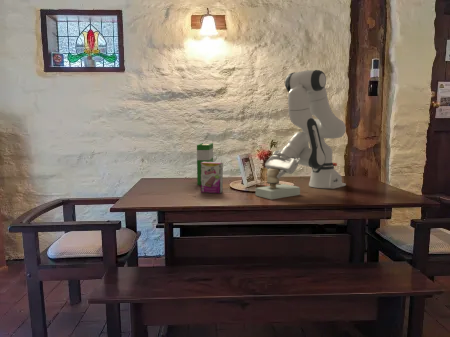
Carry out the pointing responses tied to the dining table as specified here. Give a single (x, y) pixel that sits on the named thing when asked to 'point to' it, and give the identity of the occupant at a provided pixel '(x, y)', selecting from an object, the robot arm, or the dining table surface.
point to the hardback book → (203, 157)
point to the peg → (272, 178)
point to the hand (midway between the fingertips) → (272, 176)
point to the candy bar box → (211, 177)
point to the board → (277, 191)
